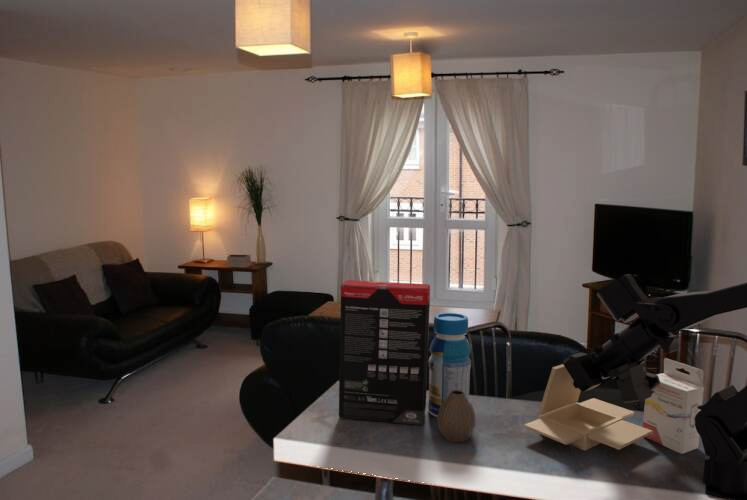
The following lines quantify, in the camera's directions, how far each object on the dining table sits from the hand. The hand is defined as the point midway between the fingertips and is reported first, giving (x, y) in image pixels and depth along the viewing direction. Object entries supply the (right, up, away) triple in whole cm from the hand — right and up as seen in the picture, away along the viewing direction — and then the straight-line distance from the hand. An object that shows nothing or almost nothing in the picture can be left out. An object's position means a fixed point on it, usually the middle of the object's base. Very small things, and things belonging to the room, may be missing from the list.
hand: (575, 385), depth 120 cm
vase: (-23, -9, -3) cm, 25 cm away
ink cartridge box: (+16, -10, -4) cm, 19 cm away
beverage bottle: (-23, -7, +9) cm, 26 cm away
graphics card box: (-36, -8, +6) cm, 38 cm away
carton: (+3, -9, -2) cm, 10 cm away
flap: (-2, -5, +3) cm, 6 cm away
